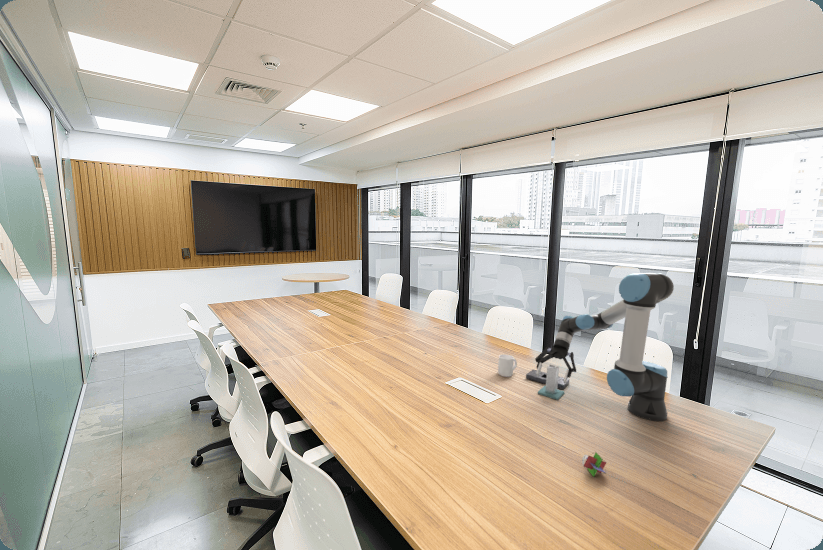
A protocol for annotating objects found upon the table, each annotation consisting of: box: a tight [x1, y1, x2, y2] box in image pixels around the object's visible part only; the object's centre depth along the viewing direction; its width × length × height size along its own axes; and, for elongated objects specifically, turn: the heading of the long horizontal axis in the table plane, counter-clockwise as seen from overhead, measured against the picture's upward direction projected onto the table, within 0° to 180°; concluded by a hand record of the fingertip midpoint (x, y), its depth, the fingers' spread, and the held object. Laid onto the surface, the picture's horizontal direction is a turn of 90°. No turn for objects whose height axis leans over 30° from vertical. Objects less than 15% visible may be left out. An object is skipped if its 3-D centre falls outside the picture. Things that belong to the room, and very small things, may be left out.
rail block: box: [525, 368, 570, 390], centre depth 193 cm, size 20×10×2 cm, turn 50°
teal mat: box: [537, 385, 565, 401], centre depth 178 cm, size 10×10×1 cm
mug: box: [497, 354, 518, 378], centre depth 202 cm, size 12×8×10 cm
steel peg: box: [545, 364, 560, 394], centre depth 177 cm, size 4×4×13 cm
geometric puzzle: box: [581, 451, 607, 478], centre depth 119 cm, size 7×7×8 cm
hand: (550, 378), depth 175 cm, fingers open, 13 cm apart
